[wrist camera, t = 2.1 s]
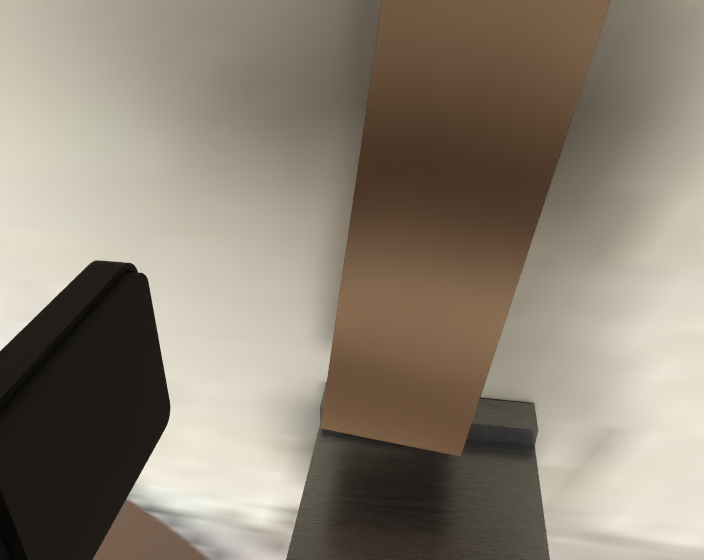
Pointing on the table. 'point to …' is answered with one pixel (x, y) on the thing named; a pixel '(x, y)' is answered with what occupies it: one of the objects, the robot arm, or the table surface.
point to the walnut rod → (448, 205)
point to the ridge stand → (426, 495)
